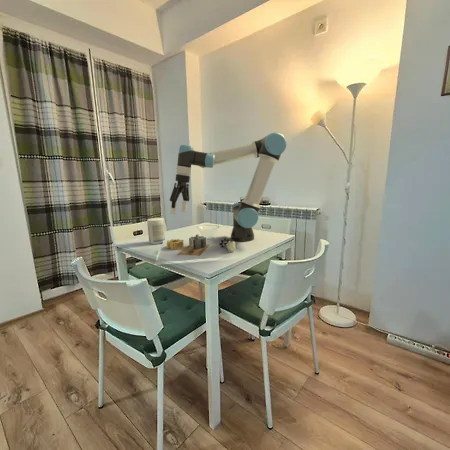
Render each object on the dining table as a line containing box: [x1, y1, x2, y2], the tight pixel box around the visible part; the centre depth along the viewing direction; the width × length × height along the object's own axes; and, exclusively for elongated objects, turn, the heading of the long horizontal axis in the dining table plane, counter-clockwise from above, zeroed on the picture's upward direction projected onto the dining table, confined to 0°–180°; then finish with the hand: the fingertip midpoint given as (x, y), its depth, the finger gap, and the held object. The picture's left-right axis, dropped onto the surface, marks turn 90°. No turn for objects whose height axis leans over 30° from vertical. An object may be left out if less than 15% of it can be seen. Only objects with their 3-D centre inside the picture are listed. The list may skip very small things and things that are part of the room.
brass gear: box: [166, 238, 185, 251], centre depth 140 cm, size 9×9×5 cm
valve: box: [219, 237, 237, 253], centre depth 134 cm, size 7×7×12 cm
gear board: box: [177, 233, 211, 257], centre depth 135 cm, size 12×20×8 cm, turn 168°
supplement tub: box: [146, 217, 166, 245], centre depth 155 cm, size 10×10×15 cm
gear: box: [188, 235, 207, 249], centre depth 139 cm, size 9×9×5 cm
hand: (178, 212), depth 141 cm, fingers open, 13 cm apart
